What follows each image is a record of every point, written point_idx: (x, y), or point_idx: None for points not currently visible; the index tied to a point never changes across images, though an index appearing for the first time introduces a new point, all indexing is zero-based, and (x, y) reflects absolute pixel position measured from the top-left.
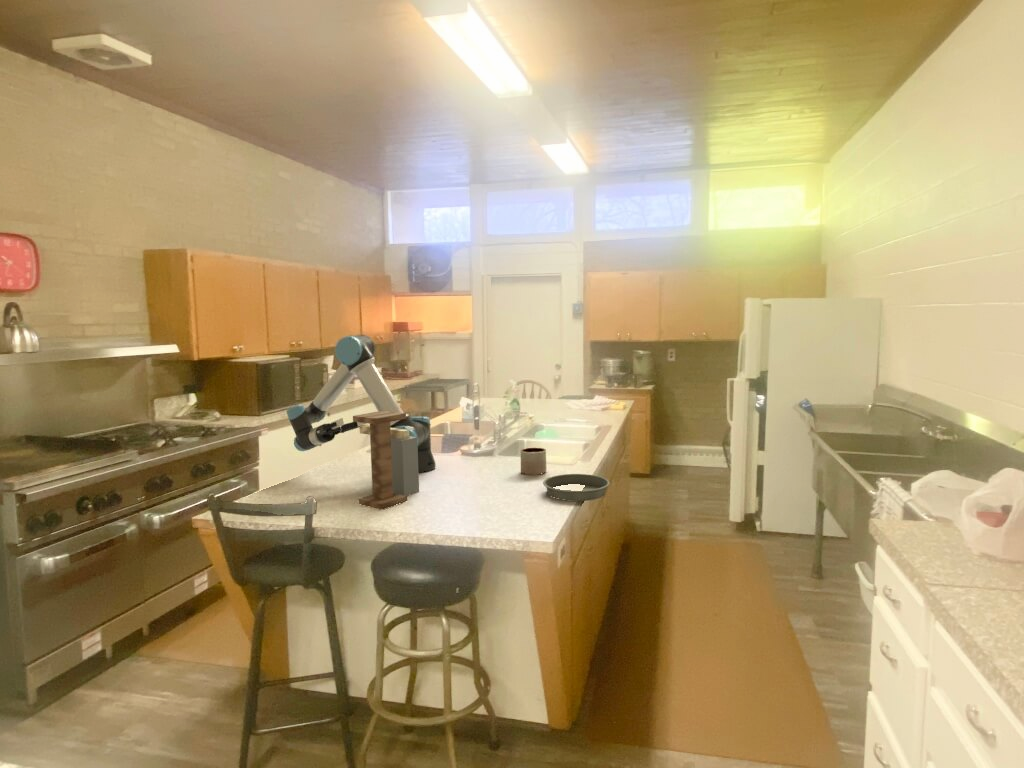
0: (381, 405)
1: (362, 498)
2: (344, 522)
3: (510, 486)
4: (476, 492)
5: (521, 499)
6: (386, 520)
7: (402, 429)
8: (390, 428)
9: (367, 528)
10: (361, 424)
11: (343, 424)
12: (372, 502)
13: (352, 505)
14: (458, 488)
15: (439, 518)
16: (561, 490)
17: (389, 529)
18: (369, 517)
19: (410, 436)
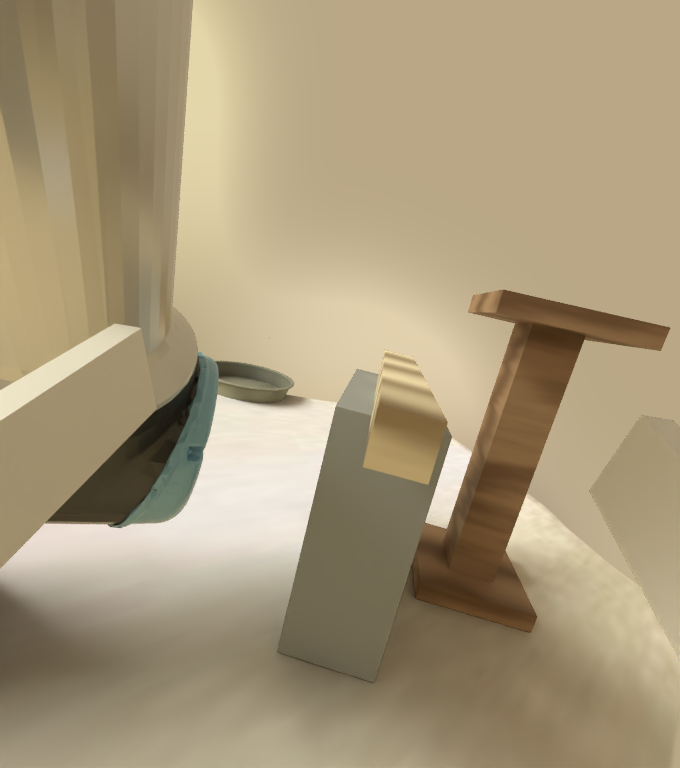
0: (178, 197)
1: (523, 608)
2: (625, 595)
3: (221, 422)
4: (279, 452)
5: (299, 419)
6: (527, 531)
7: (390, 354)
8: (399, 363)
9: (583, 544)
10: (41, 514)
11: (602, 489)
12: (513, 571)
13: (554, 648)
14: (256, 473)
15: (446, 476)
16: (293, 385)
17: (546, 516)
18: (552, 562)
19: (357, 374)
